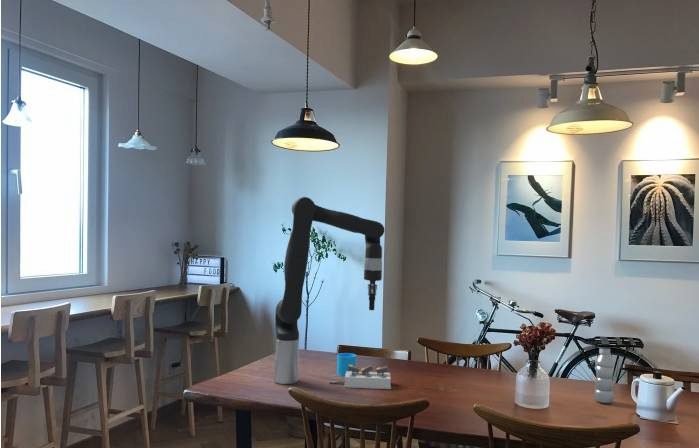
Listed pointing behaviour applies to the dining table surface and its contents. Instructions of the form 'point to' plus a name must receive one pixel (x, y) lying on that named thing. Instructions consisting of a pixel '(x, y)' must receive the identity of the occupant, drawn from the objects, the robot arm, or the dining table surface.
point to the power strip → (366, 380)
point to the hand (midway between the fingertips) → (371, 310)
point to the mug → (345, 362)
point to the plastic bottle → (604, 376)
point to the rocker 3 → (382, 369)
